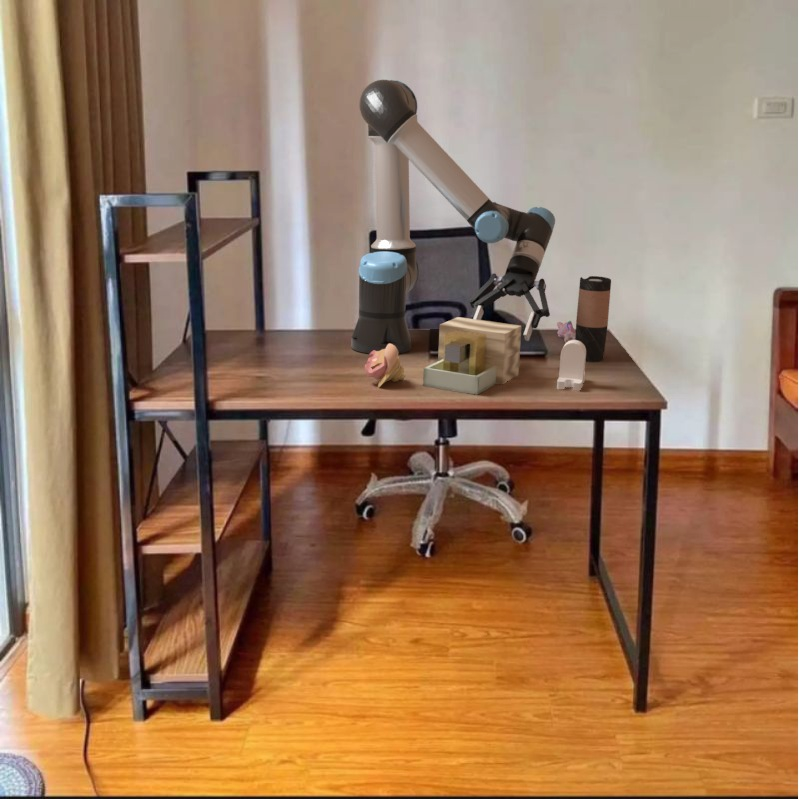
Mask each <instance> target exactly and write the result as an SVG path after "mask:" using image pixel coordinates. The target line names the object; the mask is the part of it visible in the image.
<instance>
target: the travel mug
mask: <svg viewBox="0 0 799 799" xmlns="http://www.w3.org/2000/svg"><path fill="white" fill-rule="evenodd" d="M611 286H612V279H611V278H610V277H605V276H596V275H594V276H593V275H590V276H588V277H587V278H583V277H582V276H581V277H580V278H579V287H578V288H579V289H578V299H577V307H576V308H577V309H576V310H577V312H576V322H575V331H576V336H575V340H578V341H580V342H582V343H583V344H584V346H585V348H586V360H585V362H589V363H596V362H597V363H598V362H602V361H604V358H605V350H606V341H607V333H608V326H609V314H610V311H609V310H610V303H611V302H610V301H611V300H610V299H611Z"/></svg>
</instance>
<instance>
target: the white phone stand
mask: <svg viewBox="0 0 799 799" xmlns="http://www.w3.org/2000/svg"><path fill="white" fill-rule="evenodd" d="M585 360H586V348H585V346H584V344H583V343H582V342H580V341H578V340H571V341H568V342H567V343H564V345H563V347H562V349H561V351H560V359H559V371H558V372H559V373H558V378H557V380H556V390H559V389H564V390H565V389H566V388H570V387H573V388H572V391H573V390H581V391H582V389H581V388H583V386H584V384H583V383H585V381H586V379H585V378H586V372H585V370H586V361H585ZM565 387H566V388H565Z"/></svg>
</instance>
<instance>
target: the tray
mask: <svg viewBox="0 0 799 799" xmlns="http://www.w3.org/2000/svg"><path fill="white" fill-rule="evenodd" d="M443 363H444V359H442V360H440V361H438V360H437V361H436V362H434V363H432V364H429V365H427V366H425V367H424V368H423V374H422V375H423V378H422V386H423V387H428V388H434V389H441V390H444V391H445V390H446V391H452V392H458V393H464V394H468V393H469V395H474V394H475V395H474V396H478V395H480V394H482V393H483V392H485V391H486V390H488V389H490V388H492V387H494V386H495V385H497V384H496V373H497V367H496V366H493V367H491V368H489V369H487V370H486V371H484V372H482V373H480V374H478V375H477V376H475V375H469V374H463V373H456V372H450V371H444V370H443ZM494 384H495V385H494Z"/></svg>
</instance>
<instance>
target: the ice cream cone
mask: <svg viewBox="0 0 799 799" xmlns="http://www.w3.org/2000/svg"><path fill="white" fill-rule="evenodd" d="M399 354H400V353H399V352H398V350H397V348H396V347H395V346H394V345H393V344H390V343H389V344H388V345H387V346H386V349H382V350H380V351H375V350H373V351H372V352H371V353H370V354H369V353H368V356H369V357H368V359H367V360H366V363H365V364H364V371H365V374H366V376H367V377H369V378H372V377H373V378H374V379H376V380H379V382H378V384H377V387H378V388H380V387H381V386H382V385H383V384H384V383H386V382H389V381H392V382H394V383H397V382H398V381H400V380H401V381H403V380H404V379H405V378H406V374H405V373H404V372H405V368H404V366H403V365H401V362H400V356H399Z"/></svg>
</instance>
